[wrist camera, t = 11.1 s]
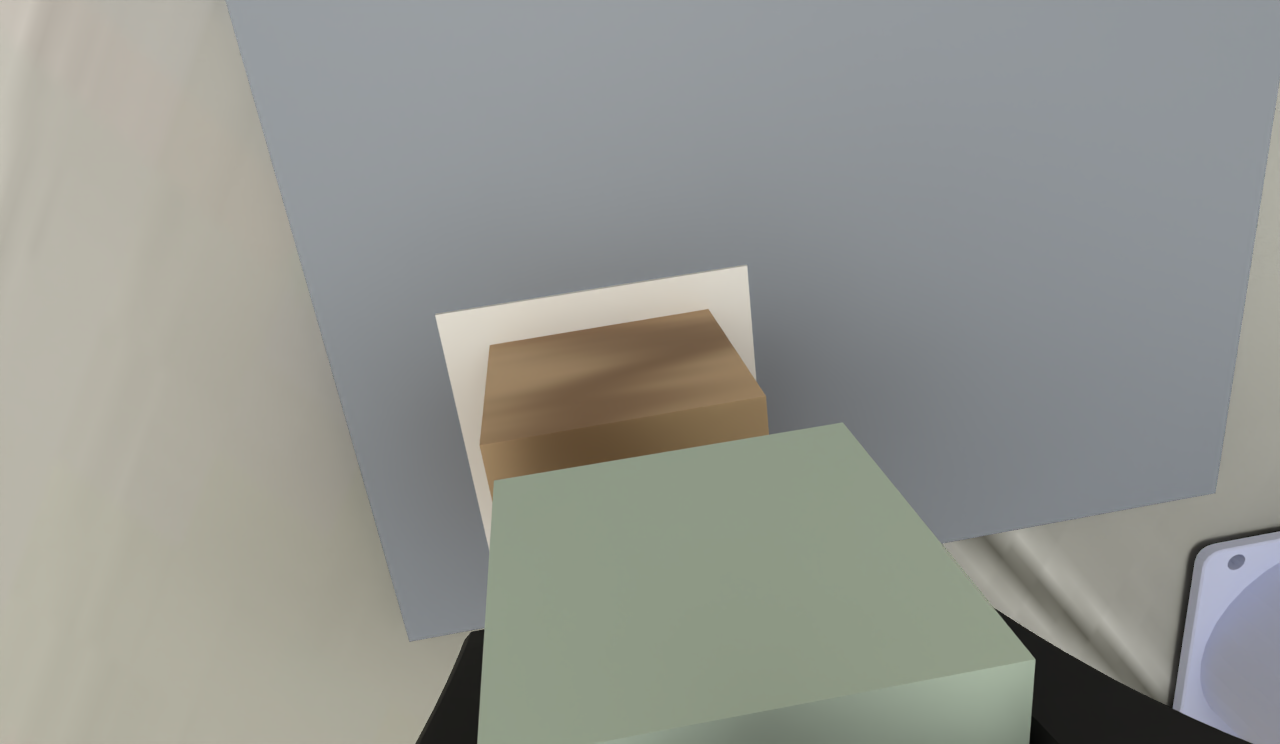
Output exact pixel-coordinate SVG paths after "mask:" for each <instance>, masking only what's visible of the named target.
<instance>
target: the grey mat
mask: <svg viewBox="0 0 1280 744" xmlns="http://www.w3.org/2000/svg"><path fill="white" fill-rule="evenodd" d="M226 4H227V7H228V11H229V14H230V18H231V21H232V25H233V28H234V32H235V35H236V39H237V42H238V46H239V49H240V53H241V56H242V60H243V63H244V67H245V70H246V74H247V77H248V81H249V84H250V88H251V91H252V95H253V98H254V102H255V105H256V108H257V112H258V115H259V119H260V122H261V126H262V129H263V133H264V136H265V140H266V143H267V147H268V150H269V154H270V157H271V161H272V164H273V168H274V171H275V175H276V178H277V182H278V185H279V189H280V192H281V196H282V199H283V203H284V206H285V210H286V213H287V217H288V220H289V223H290V227H291V230H292V234H293V237H294V241H295V244H296V248H297V251H298V255H299V258H300V262H301V265H302V269H303V272H304V276H305V279H306V283H307V286H308V290H309V293H310V297H311V300H312V304H313V307H314V311H315V314H316V318H317V321H318V325H319V328H320V332H321V335H322V338H323V342H324V345H325V349H326V352H327V356H328V359H329V363H330V366H331V370H332V373H333V377H334V380H335V384H336V387H337V391H338V394H339V398H340V401H341V405H342V408H343V412H344V415H345V419H346V422H347V426H348V429H349V433H350V436H351V440H352V443H353V447H354V450H355V453H356V457H357V460H358V464H359V467H360V471H361V474H362V478H363V481H364V485H365V488H366V492H367V495H368V499H369V502H370V506H371V509H372V513H373V516H374V520H375V523H376V527H377V530H378V534H379V537H380V541H381V544H382V548H383V551H384V555H385V558H386V562H387V565H388V568H389V572H390V575H391V579H392V582H393V586H394V589H395V593H396V596H397V600H398V603H399V607H400V610H401V614H402V617H403V621H404V624H405V628H406V631H407V635H408V638H409V642H410V641H416V640H421V639H427V638H432V637H437V636H443V635H448V634H454V633H459V632H465V631H470V630H475V629H481V628H485V613H486V597H487V581H488V566H489V550H490V534H491V518H492V498H491V494H490V490H489V485H488V481H487V476H486V472H485V468H484V463H483V459H482V454H481V450H480V446H479V445H480V435H481V426H482V416H483V406H484V396H485V386H486V377H487V367H488V357H489V347H490V345H493V344H499V343H505V342H511V341H517V340H524V339H530V338H536V337H542V336H548V335H554V334H560V333H566V332H572V331H578V330H584V329H590V328H596V327H602V326H608V325H614V324H621V323H627V322H633V321H639V320H645V319H651V318H657V317H663V316H669V315H675V314H681V313H687V312H693V311H699V310H705V309H709V311H710V312H711V314H712V315H713V317H714V318H715V320H716V321H717V323H718V324H719V326H720V327H721V329H722V330H723V332H724V333H725V335H726V336H727V338H728V339H729V341H730V342H731V344H732V345H733V347H734V348H735V350H736V351H737V353H738V354H739V356H740V357H741V359H742V360H743V362H744V363H745V365H746V366H747V368H748V369H749V371H750V373H751V374H752V376H753V377H754V379H755V380H756V382H757V383H758V385H759V386H760V388H761V389H762V391H763V392H764V394H765V395H766V402H767V415H768V428H769V435H770V434H776V433H782V432H788V431H794V430H800V429H806V428H812V427H818V426H824V425H830V424H836V423H842V422H843V423H844V424H845V426H846V427H847V428H848V429H849V431H850V432H851V433H852V434H853V436H854V437H855V438H856V439H857V440H858V442H859V443H860V444H861V445H862V447H863V448H864V449H865V450H866V452H867V453H868V454H869V455H870V456H871V458H872V459H873V460H874V461H875V463H876V464H877V465H878V466H879V468H880V469H881V470H882V471H883V472H884V474H885V475H886V476H887V477H888V479H889V480H890V481H891V482H892V484H893V485H894V486H895V487H896V488H897V490H898V491H899V492H900V493H901V495H902V496H903V497H904V498H905V500H906V501H907V502H908V503H909V504H910V506H911V507H912V508H913V509H914V511H915V512H916V513H917V514H918V515H919V517H920V518H921V519H922V520H923V522H924V523H925V524H926V525H927V527H928V528H929V529H930V530H931V531H932V533H933V534H934V535H935V536H936V538H937V539H938V540H939V541H940V543H941V544H942V543H947V542H952V541H958V540H963V539H969V538H974V537H980V536H985V535H990V534H996V533H1001V532H1007V531H1012V530H1018V529H1023V528H1028V527H1034V526H1039V525H1045V524H1050V523H1055V522H1061V521H1066V520H1072V519H1077V518H1083V517H1088V516H1093V515H1099V514H1104V513H1110V512H1115V511H1121V510H1126V509H1131V508H1137V507H1142V506H1148V505H1153V504H1158V503H1164V502H1169V501H1175V500H1180V499H1186V498H1191V497H1196V496H1202V495H1207V494H1213V493H1215V492H1216V486H1217V479H1218V473H1219V466H1220V460H1221V453H1222V447H1223V441H1224V434H1225V428H1226V421H1227V415H1228V408H1229V402H1230V396H1231V389H1232V383H1233V376H1234V370H1235V363H1236V357H1237V351H1238V344H1239V338H1240V331H1241V325H1242V318H1243V312H1244V306H1245V299H1246V293H1247V286H1248V280H1249V273H1250V267H1251V261H1252V254H1253V248H1254V241H1255V235H1256V228H1257V222H1258V216H1259V209H1260V203H1261V196H1262V190H1263V183H1264V177H1265V171H1266V164H1267V158H1268V151H1269V145H1270V138H1271V132H1272V126H1273V119H1274V113H1275V106H1276V100H1277V93H1278V87H1279V81H1280V0H226Z"/></svg>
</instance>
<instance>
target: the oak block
mask: <svg viewBox="0 0 1280 744" xmlns="http://www.w3.org/2000/svg"><path fill="white" fill-rule="evenodd" d="M764 435H769V428H768V415H767V402H766V395H765V394H764V392H763V391H762V389H761V388H760V386H759V385H758V383H757V382H756V380H755V379H754V377H753V376H752V374H751V373H750V371H749V369H748V368H747V366H746V365H745V363H744V362H743V360H742V359H741V357H740V356H739V354H738V353H737V351H736V350H735V348H734V347H733V345H732V344H731V342H730V341H729V339H728V338H727V336H726V335H725V333H724V332H723V330H722V329H721V327H720V326H719V324H718V323H717V321H716V320H715V318H714V317H713V315H712V314H711V312H710V311H709V309H705V310H699V311H693V312H687V313H681V314H675V315H669V316H663V317H657V318H651V319H645V320H639V321H633V322H627V323H621V324H614V325H608V326H602V327H596V328H590V329H584V330H578V331H572V332H566V333H560V334H554V335H548V336H542V337H536V338H530V339H524V340H517V341H511V342H505V343H499V344H493V345H490V347H489V357H488V367H487V377H486V386H485V396H484V406H483V416H482V426H481V435H480V445H479V446H480V450H481V454H482V459H483V463H484V468H485V472H486V476H487V481H488V485H489V490H490V494H491V498H492V502H493V487H494V480H500V479H506V478H512V477H518V476H524V475H530V474H536V473H542V472H548V471H554V470H560V469H566V468H572V467H578V466H584V465H590V464H596V463H602V462H608V461H614V460H620V459H626V458H632V457H638V456H644V455H650V454H656V453H662V452H668V451H674V450H680V449H686V448H692V447H698V446H704V445H710V444H716V443H722V442H728V441H734V440H740V439H746V438H752V437H758V436H764Z"/></svg>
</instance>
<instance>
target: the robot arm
mask: <svg viewBox="0 0 1280 744" xmlns="http://www.w3.org/2000/svg"><path fill="white" fill-rule="evenodd" d="M994 609H995V608H994ZM995 610H996V609H995ZM996 611H997V613H998V614H999V615H1000V616H1001V618H1002V619H1003V620H1004V621H1005V622H1006V624H1007V625H1008V626H1009V627H1010V629H1011V630H1012V631H1013V632H1014V634H1015V635H1016V636H1017V637H1018V638H1019V640H1020V641H1021V642H1022V643H1023V645H1024V646H1025V647H1026V648H1027V650H1028V651H1029V652H1030V653H1031V654H1032V656H1033V657H1034V658H1035V673H1034V686H1033V700H1032V713H1031V727H1030V740H1029V744H1280V531H1279V532H1273V533H1268V534H1263V535H1258V536H1252V537H1247V538H1242V539H1236V540H1231V541H1226V542H1220V543H1215V544H1211V545H1209V546H1206V547H1204V548H1203V549H1202V550H1201V551H1200V552H1199V553H1198V554H1197V556H1196V559H1195V563H1194V570H1193V576H1192V583H1191V590H1190V596H1189V603H1188V610H1187V616H1186V623H1185V630H1184V636H1183V643H1182V650H1181V656H1180V663H1179V670H1178V676H1177V683H1176V690H1175V696H1174V703H1173V708H1171V707H1168V706H1166V705H1164V704H1162V703H1160V702H1158V701H1156V700H1154V699H1152V698H1150V697H1148V696H1146V695H1144V694H1141V693H1139V692H1137V691H1135V690H1133V689H1131V688H1130V687H1128V686H1126V685H1124V684H1122V683H1120V682H1118V681H1116V680H1114V679H1112V678H1110V677H1109V676H1107V675H1105V674H1103V673H1101V672H1100V671H1098V670H1096V669H1094V668H1092V667H1091V666H1089V665H1087V664H1085V663H1084V662H1082V661H1080V660H1078V659H1077V658H1075V657H1073V656H1071V655H1069V654H1068V653H1066V652H1064V651H1062V650H1061V649H1059V648H1057V647H1056V646H1054V645H1052V644H1051V643H1049V642H1047V641H1046V640H1044V639H1042V638H1041V637H1039V636H1037V635H1036V634H1034V633H1033V632H1031V631H1029V630H1028V629H1026V628H1025V627H1023V626H1021V625H1020V624H1018V623H1017V622H1015V621H1014V620H1012V619H1010V618H1009V617H1007V616H1006V615H1004V614H1003V613H1001V612H1000V611H998V610H996ZM483 645H484V630H479V631H473V632H471V633H470V634H469V635H468V637H467V638H466V639H465V641H464V643H463V646H462V648H461V651H460V653H459V655H458V658H457V660H456V662H455V665H454V667H453V669H452V672H451V674H450V676H449V678H448V680H447V683H446V685H445V687H444V689H443V691H442V693H441V695H440V697H439V699H438V701H437V703H436V706H435V708H434V710H433V712H432V713H431V715H430V717H429V719H428V721H427V723H426V725H425V727H424V729H423V731H422V732H421V734H420V736H419V738H418V740H417V742H416V744H477V740H478V724H479V708H480V692H481V676H482V661H483Z"/></svg>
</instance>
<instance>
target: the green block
mask: <svg viewBox="0 0 1280 744" xmlns="http://www.w3.org/2000/svg"><path fill="white" fill-rule="evenodd" d="M1034 673H1035V658H1034V657H1033V656H1032V654H1031V653H1030V652H1029V651H1028V650H1027V648H1026V647H1025V646H1024V645H1023V643H1022V642H1021V641H1020V640H1019V638H1018V637H1017V636H1016V635H1015V634H1014V632H1013V631H1012V630H1011V629H1010V627H1009V626H1008V625H1007V624H1006V622H1005V621H1004V620H1003V619H1002V618H1001V616H1000V615H999V614H998V613H997V611H996V610H995V609H994V608H993V606H992V605H991V604H990V603H989V602H988V600H987V599H986V598H985V597H984V595H983V594H982V593H981V592H980V590H979V589H978V588H977V587H976V586H975V584H974V583H973V582H972V581H971V579H970V578H969V577H968V576H967V575H966V573H965V572H964V571H963V570H962V568H961V567H960V566H959V565H958V563H957V562H956V561H955V560H954V559H953V557H952V556H951V555H950V554H949V552H948V551H947V550H946V549H945V547H944V546H943V545H942V544H941V543H940V541H939V540H938V539H937V538H936V536H935V535H934V534H933V533H932V531H931V530H930V529H929V528H928V527H927V525H926V524H925V523H924V522H923V520H922V519H921V518H920V517H919V515H918V514H917V513H916V512H915V511H914V509H913V508H912V507H911V506H910V504H909V503H908V502H907V501H906V500H905V498H904V497H903V496H902V495H901V493H900V492H899V491H898V490H897V488H896V487H895V486H894V485H893V484H892V482H891V481H890V480H889V479H888V477H887V476H886V475H885V474H884V472H883V471H882V470H881V469H880V468H879V466H878V465H877V464H876V463H875V461H874V460H873V459H872V458H871V456H870V455H869V454H868V453H867V452H866V450H865V449H864V448H863V447H862V445H861V444H860V443H859V442H858V440H857V439H856V438H855V437H854V436H853V434H852V433H851V432H850V431H849V429H848V428H847V427H846V426H845V424H844V423H843V422H842V423H836V424H830V425H824V426H818V427H812V428H806V429H800V430H794V431H788V432H782V433H776V434H770V435H764V436H758V437H752V438H746V439H740V440H734V441H728V442H722V443H716V444H710V445H704V446H698V447H692V448H686V449H680V450H674V451H668V452H662V453H656V454H650V455H644V456H638V457H632V458H626V459H620V460H614V461H608V462H602V463H596V464H590V465H584V466H578V467H572V468H566V469H560V470H554V471H548V472H542V473H536V474H530V475H524V476H518V477H512V478H506V479H500V480H494V487H493V502H492V518H491V534H490V550H489V566H488V581H487V597H486V613H485V629H484V645H483V661H482V676H481V692H480V708H479V724H478V740H477V744H1029V740H1030V727H1031V713H1032V700H1033V686H1034Z"/></svg>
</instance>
